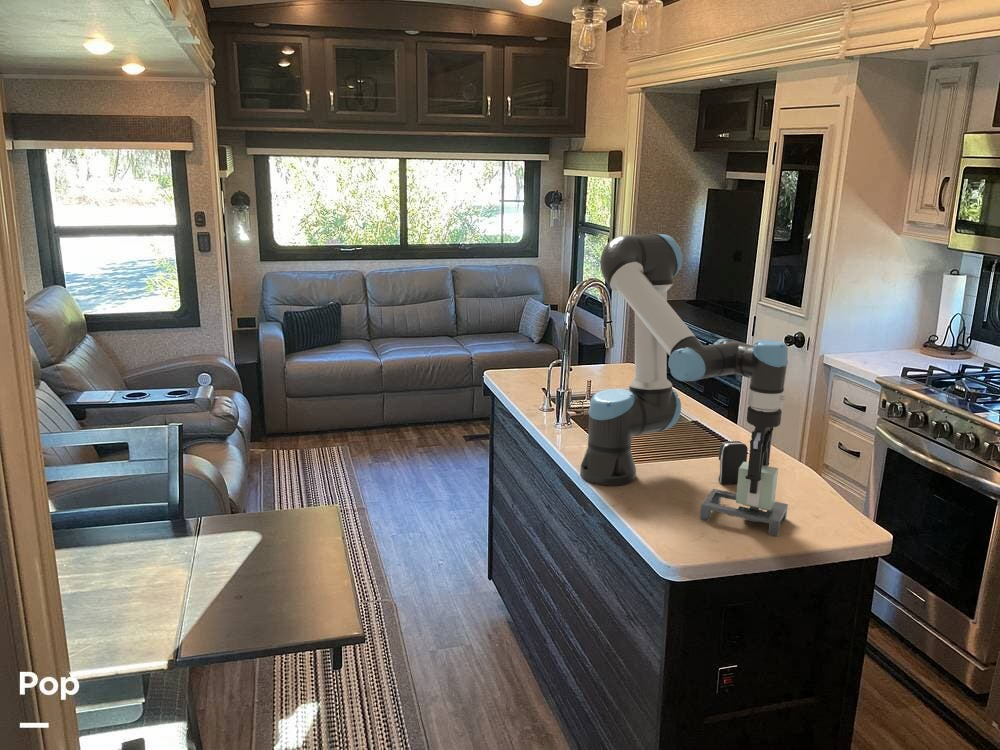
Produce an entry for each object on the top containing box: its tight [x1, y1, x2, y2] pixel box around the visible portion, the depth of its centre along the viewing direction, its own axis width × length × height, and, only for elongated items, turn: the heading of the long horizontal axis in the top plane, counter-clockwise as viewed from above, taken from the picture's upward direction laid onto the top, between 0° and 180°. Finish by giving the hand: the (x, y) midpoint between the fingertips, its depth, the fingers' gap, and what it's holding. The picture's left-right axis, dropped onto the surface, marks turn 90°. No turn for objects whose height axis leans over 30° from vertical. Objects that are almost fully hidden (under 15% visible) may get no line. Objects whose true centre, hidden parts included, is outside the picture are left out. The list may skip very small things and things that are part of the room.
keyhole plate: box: [699, 488, 789, 537], centre depth 189 cm, size 18×11×4 cm, turn 60°
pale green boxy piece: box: [735, 461, 779, 523], centre depth 187 cm, size 8×6×12 cm
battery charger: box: [718, 440, 749, 485], centre depth 210 cm, size 7×4×11 cm, turn 100°
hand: (755, 500), depth 187 cm, fingers closed on pale green boxy piece, 5 cm apart
